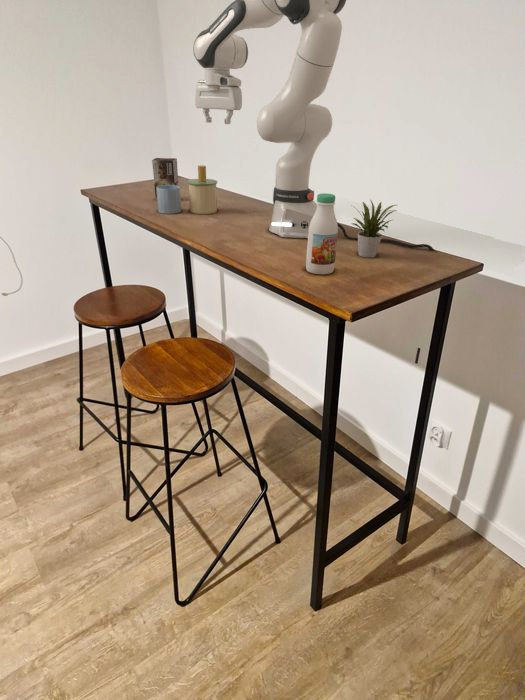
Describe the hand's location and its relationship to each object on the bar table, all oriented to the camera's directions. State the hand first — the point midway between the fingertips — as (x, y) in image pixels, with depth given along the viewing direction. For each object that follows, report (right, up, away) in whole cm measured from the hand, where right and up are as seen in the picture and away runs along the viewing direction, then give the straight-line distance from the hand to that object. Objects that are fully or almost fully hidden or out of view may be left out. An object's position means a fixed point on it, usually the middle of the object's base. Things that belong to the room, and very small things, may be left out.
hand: (217, 123), depth 174 cm
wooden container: (-7, -29, +12) cm, 32 cm away
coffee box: (-24, -19, +29) cm, 42 cm away
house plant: (+49, -55, -32) cm, 81 cm away
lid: (-7, -20, +7) cm, 22 cm away
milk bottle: (+32, -62, -45) cm, 83 cm away
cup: (-20, -29, +10) cm, 37 cm away
